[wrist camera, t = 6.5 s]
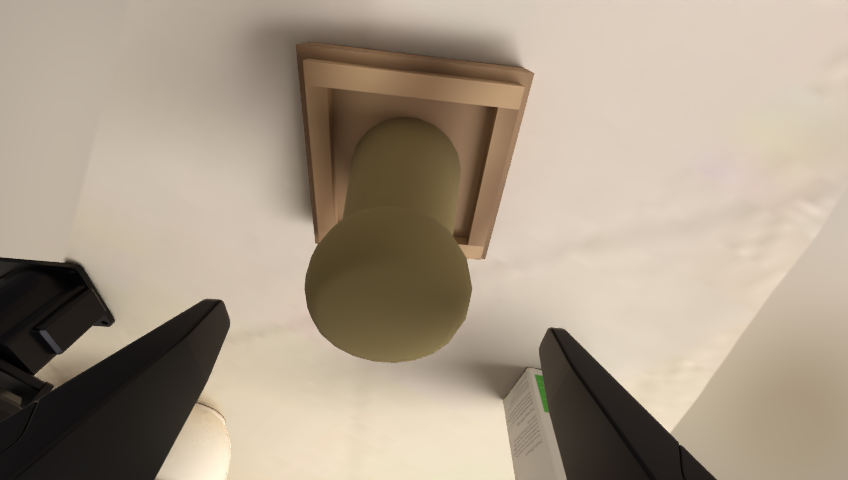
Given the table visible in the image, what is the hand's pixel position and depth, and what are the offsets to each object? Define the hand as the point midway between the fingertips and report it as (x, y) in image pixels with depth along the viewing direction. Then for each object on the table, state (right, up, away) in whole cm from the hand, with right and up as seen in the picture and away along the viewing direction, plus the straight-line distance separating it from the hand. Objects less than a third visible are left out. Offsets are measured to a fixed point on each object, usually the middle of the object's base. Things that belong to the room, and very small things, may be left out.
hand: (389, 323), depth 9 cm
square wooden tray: (0, +7, +11) cm, 13 cm away
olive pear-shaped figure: (0, +6, +9) cm, 11 cm away
